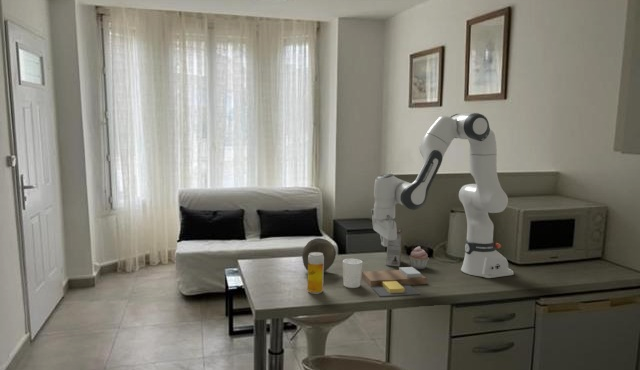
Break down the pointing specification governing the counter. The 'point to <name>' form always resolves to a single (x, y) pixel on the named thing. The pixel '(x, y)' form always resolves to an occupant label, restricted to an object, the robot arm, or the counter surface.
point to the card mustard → (393, 287)
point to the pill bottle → (315, 272)
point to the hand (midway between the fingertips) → (384, 245)
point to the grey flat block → (409, 272)
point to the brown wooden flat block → (391, 278)
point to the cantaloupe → (321, 247)
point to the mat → (384, 293)
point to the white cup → (352, 272)
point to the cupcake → (418, 258)
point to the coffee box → (394, 250)
